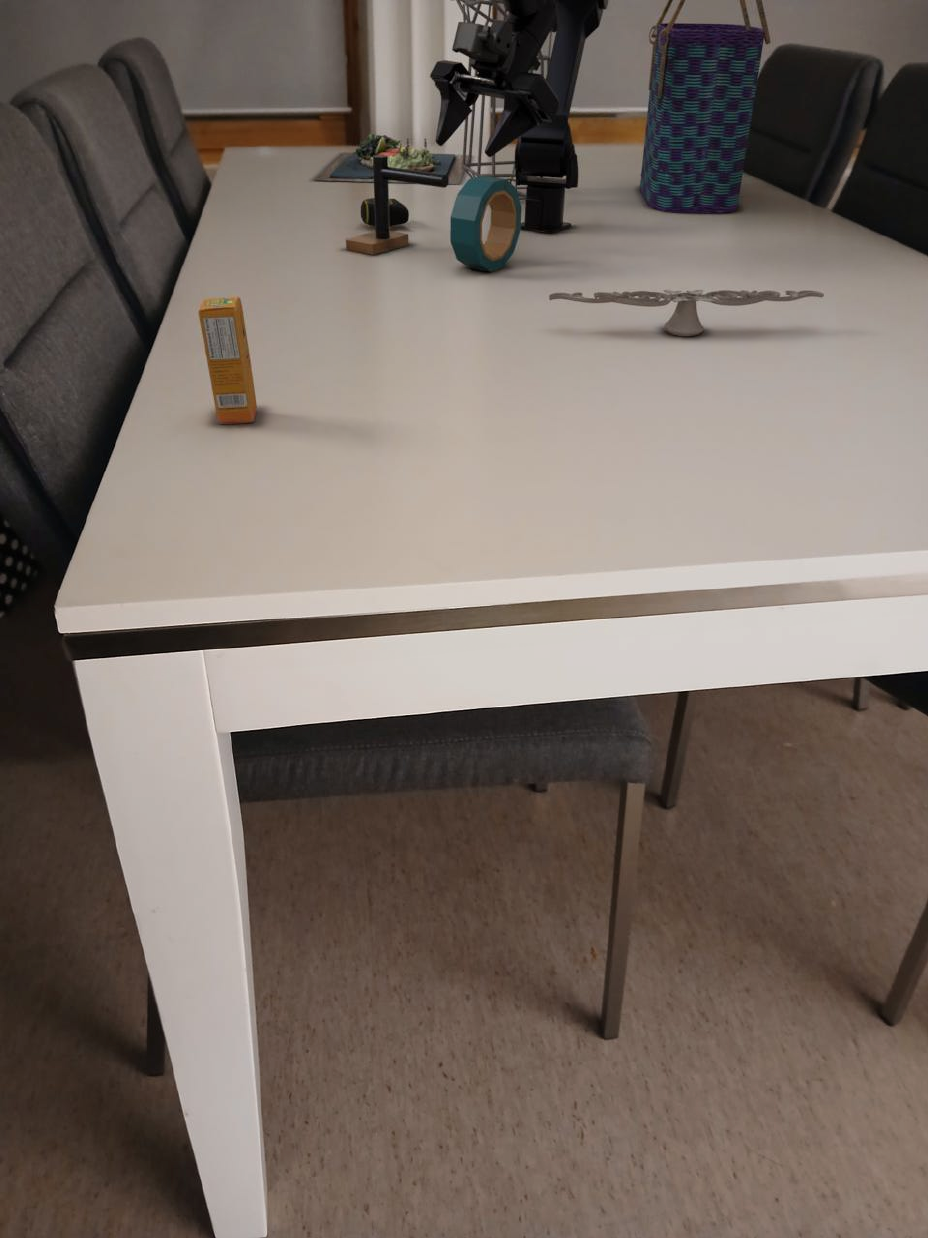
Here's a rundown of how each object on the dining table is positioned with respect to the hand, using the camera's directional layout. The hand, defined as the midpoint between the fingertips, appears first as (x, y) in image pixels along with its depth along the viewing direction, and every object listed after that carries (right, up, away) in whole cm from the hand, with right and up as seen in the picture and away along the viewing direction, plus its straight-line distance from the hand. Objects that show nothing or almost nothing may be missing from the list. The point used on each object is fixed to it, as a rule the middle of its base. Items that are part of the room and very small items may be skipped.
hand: (462, 149), depth 125 cm
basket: (+40, +14, +47) cm, 63 cm away
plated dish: (-13, +30, +71) cm, 78 cm away
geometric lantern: (+7, +13, +44) cm, 47 cm away
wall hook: (+25, -30, -19) cm, 43 cm away
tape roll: (+3, -14, +4) cm, 15 cm away
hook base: (-12, -8, +13) cm, 19 cm away
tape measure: (-12, 0, +25) cm, 28 cm away
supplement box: (-20, -44, -41) cm, 63 cm away
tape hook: (-7, -10, +10) cm, 16 cm away
